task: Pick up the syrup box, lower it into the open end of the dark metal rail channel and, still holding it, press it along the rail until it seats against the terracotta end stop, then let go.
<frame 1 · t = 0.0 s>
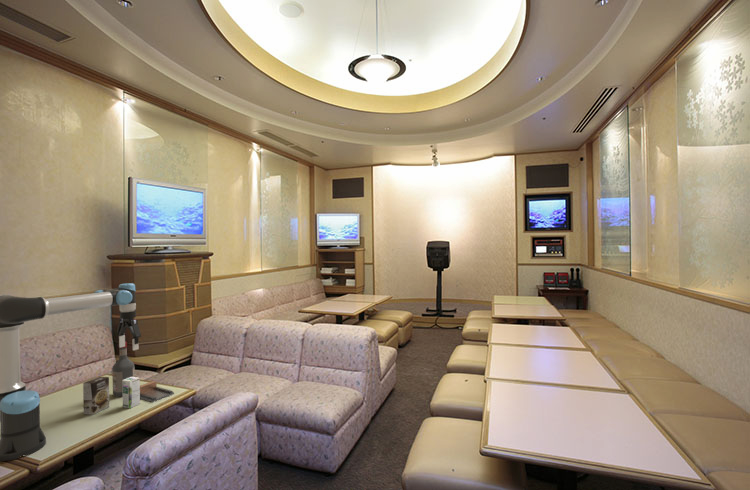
hand: (128, 348, 196), 28 cm above the table, fingers open, 13 cm apart
liquor: (124, 394, 202), on the table
syrup box: (131, 405, 187), on the table
coffee box: (96, 410, 182), on the table
rail board: (154, 395, 199), on the table
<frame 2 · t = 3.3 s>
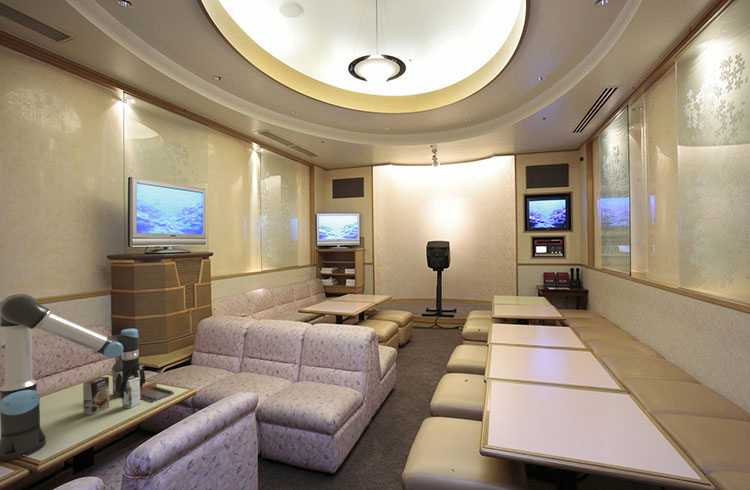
hand: (131, 400, 187), 2 cm above the table, fingers closed on syrup box, 6 cm apart
syrup box: (131, 405, 187), on the table, touching gripper
everything else where it was.
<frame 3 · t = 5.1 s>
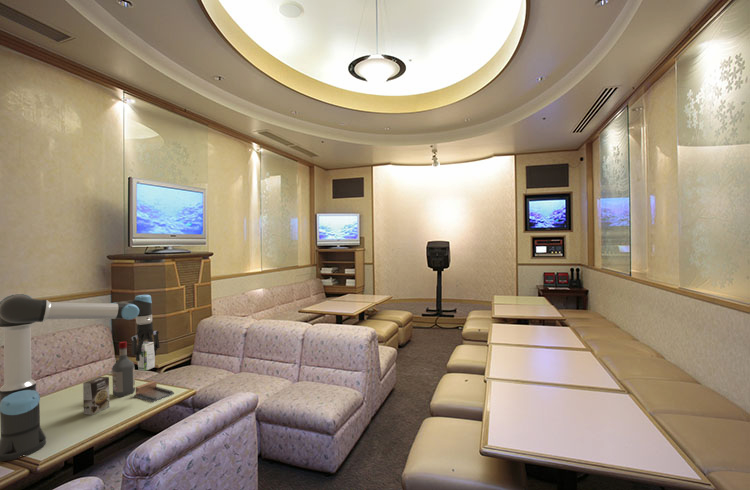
hand: (146, 364, 193), 20 cm above the table, fingers closed on syrup box, 6 cm apart
syrup box: (146, 368, 193), point 17 cm above the table, touching gripper
everything else where it was.
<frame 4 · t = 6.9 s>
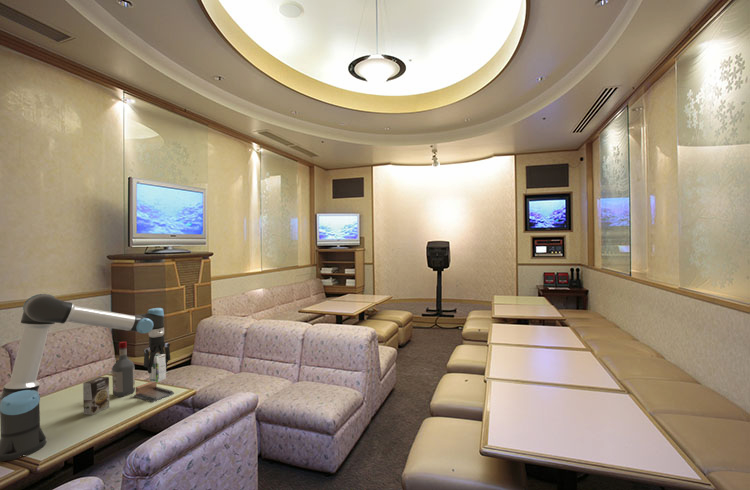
hand: (157, 376, 197), 12 cm above the table, fingers closed on syrup box, 6 cm apart
syrup box: (158, 380, 197), point 9 cm above the table, touching gripper
everything else where it was.
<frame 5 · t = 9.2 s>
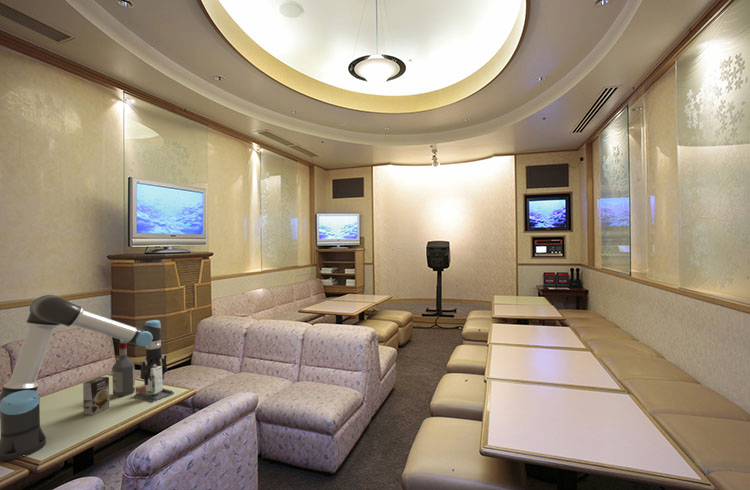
hand: (154, 387, 199), 4 cm above the table, fingers closed on syrup box, 6 cm apart
syrup box: (154, 392, 199), point 2 cm above the table, touching gripper
everything else where it was.
when the fingers open (4 cm above the table, at t = 10.9 s): syrup box stays where it is, resting on rail board.
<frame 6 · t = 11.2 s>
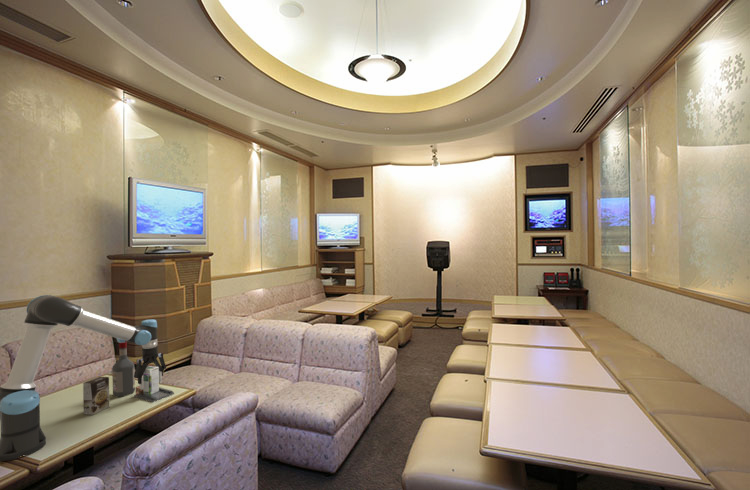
hand: (150, 385, 200), 5 cm above the table, fingers open, 9 cm apart
syrup box: (151, 392, 200), point 1 cm above the table, touching rail board
everything else where it was.
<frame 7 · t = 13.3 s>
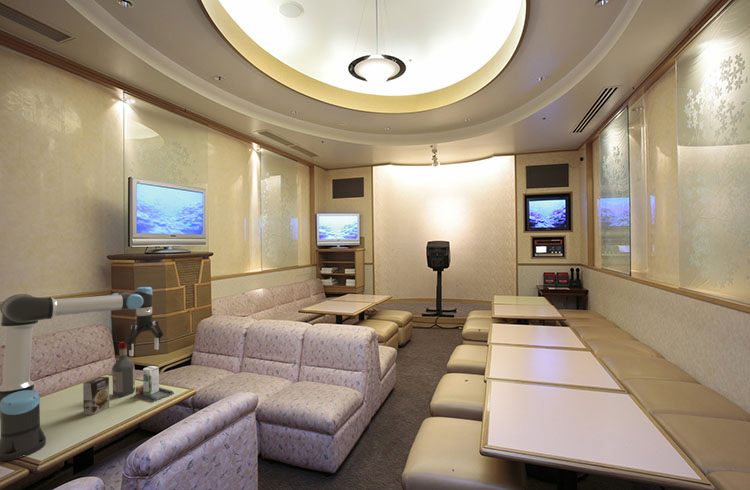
hand: (144, 352, 195), 26 cm above the table, fingers open, 13 cm apart
nothing on the table moved.
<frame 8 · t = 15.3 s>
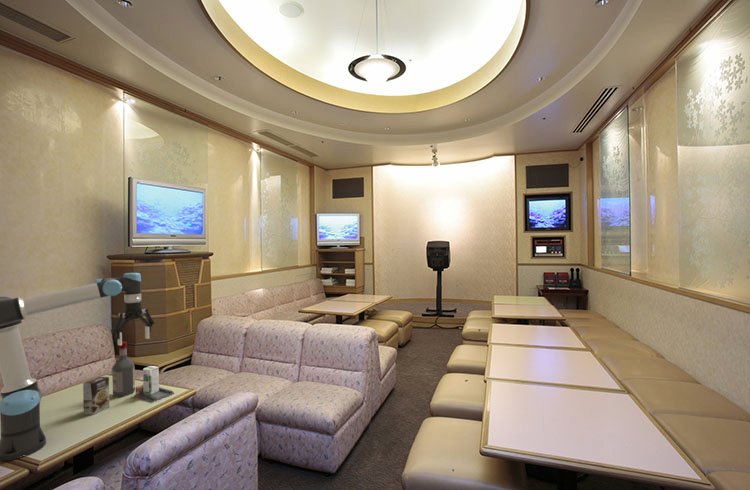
hand: (134, 341, 185), 35 cm above the table, fingers open, 13 cm apart
nothing on the table moved.
at the end: syrup box 0.2 cm from the target spot on the rail board, point 0.8 cm above the rail board's base; syrup box tilted 0°; the gripper is holding nothing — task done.
